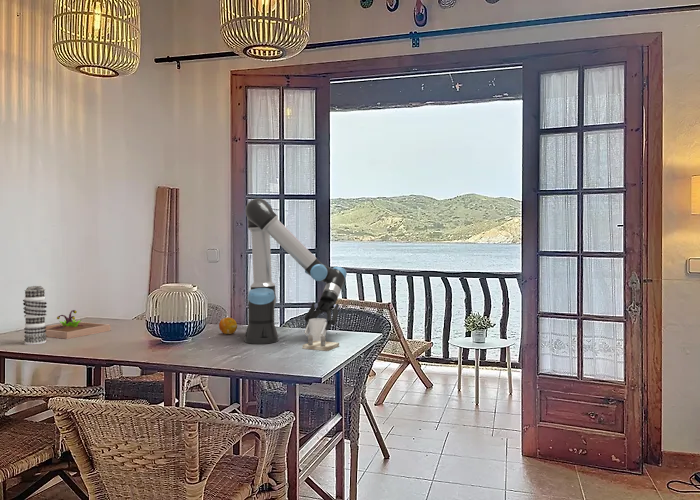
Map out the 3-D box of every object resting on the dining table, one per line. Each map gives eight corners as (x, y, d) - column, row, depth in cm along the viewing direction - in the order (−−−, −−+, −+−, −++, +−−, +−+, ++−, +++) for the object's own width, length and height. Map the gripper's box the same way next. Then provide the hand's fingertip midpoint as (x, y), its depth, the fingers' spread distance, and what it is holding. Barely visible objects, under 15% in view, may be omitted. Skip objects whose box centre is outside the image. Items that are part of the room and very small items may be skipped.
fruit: (234, 335, 267) (234, 318, 267) (217, 335, 267) (216, 318, 267) (238, 332, 276) (238, 316, 275) (221, 332, 276) (221, 316, 275)
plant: (100, 332, 278) (100, 309, 278) (61, 338, 262) (61, 314, 262) (78, 328, 289) (78, 306, 289) (40, 333, 273) (39, 311, 273)
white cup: (324, 343, 247) (324, 321, 246) (306, 342, 248) (306, 320, 248) (328, 340, 254) (328, 318, 254) (311, 339, 256) (311, 317, 256)
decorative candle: (20, 342, 248) (19, 286, 247) (43, 340, 255) (42, 285, 254) (27, 345, 242) (26, 287, 241) (50, 342, 249) (49, 286, 248)
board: (302, 348, 236) (302, 335, 236) (314, 344, 246) (314, 331, 246) (327, 350, 231) (327, 337, 231) (339, 346, 241) (339, 333, 241)
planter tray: (30, 334, 268) (30, 328, 268) (75, 327, 291) (75, 321, 291) (67, 338, 258) (67, 332, 258) (110, 330, 281) (110, 324, 281)
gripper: (352, 301, 261) (337, 341, 246) (313, 299, 269) (296, 338, 255) (347, 290, 256) (332, 331, 241) (308, 289, 264) (291, 328, 250)
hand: (314, 334), depth 248 cm, fingers closed on white cup, 8 cm apart
